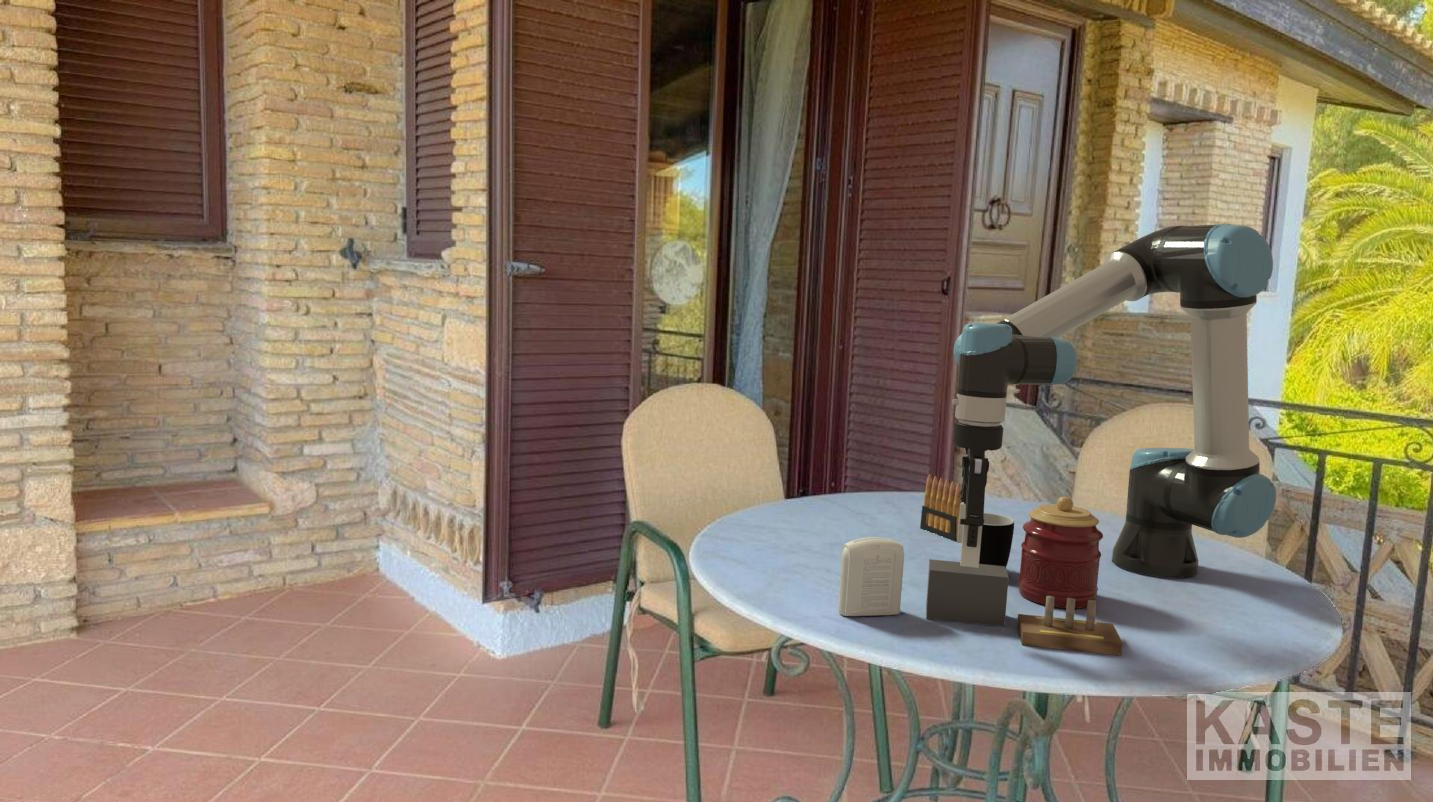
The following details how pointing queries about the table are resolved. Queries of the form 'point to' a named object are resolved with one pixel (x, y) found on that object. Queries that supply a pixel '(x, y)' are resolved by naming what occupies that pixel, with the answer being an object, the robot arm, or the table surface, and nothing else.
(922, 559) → the table surface
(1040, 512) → the canister
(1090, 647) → the block
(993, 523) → the mug
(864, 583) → the photo printer
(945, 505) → the ammunition clip
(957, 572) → the grey bevelled block
